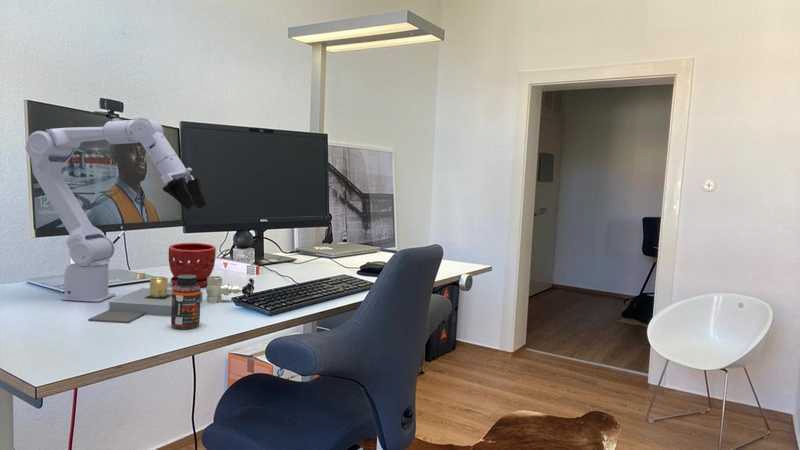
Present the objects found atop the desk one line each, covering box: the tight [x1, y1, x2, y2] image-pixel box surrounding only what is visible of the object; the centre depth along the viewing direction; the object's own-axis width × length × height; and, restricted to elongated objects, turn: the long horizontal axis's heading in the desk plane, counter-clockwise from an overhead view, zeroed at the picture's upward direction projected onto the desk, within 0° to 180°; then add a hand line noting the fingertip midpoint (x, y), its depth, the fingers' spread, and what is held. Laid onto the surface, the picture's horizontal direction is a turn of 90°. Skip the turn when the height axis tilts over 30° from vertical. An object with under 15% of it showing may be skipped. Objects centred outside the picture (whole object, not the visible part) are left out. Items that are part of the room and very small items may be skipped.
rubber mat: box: [87, 309, 145, 324], centre depth 122 cm, size 9×9×1 cm
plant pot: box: [168, 242, 217, 288], centre depth 158 cm, size 13×13×12 cm
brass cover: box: [149, 276, 169, 299], centre depth 133 cm, size 4×4×7 cm
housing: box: [108, 287, 203, 317], centre depth 133 cm, size 16×16×2 cm
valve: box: [205, 275, 255, 304], centre depth 142 cm, size 7×7×12 cm
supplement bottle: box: [170, 275, 202, 330], centre depth 118 cm, size 6×6×11 cm
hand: (197, 207), depth 133 cm, fingers open, 7 cm apart
